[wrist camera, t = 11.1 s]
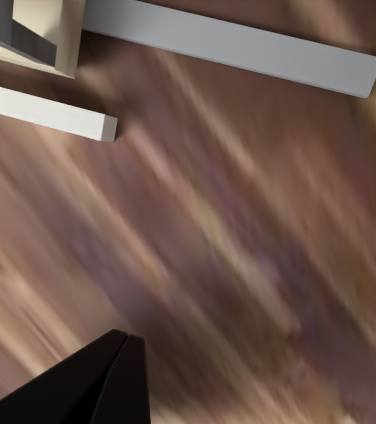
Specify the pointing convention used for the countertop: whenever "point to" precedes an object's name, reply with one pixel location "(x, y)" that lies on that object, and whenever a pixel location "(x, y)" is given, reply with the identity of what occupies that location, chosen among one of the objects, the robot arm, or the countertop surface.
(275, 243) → the countertop surface
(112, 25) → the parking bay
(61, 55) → the beige hollow block
